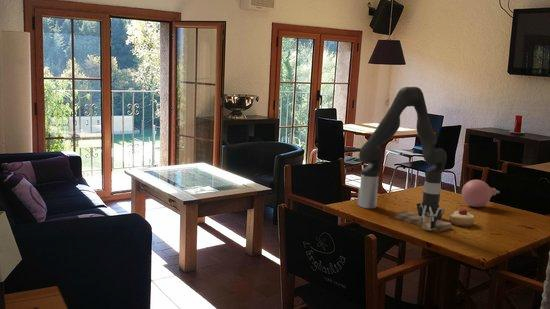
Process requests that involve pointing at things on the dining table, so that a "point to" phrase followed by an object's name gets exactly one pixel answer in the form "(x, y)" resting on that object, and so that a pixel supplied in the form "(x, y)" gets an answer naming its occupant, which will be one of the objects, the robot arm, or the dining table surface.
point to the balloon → (477, 193)
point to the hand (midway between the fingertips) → (428, 227)
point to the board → (417, 220)
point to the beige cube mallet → (427, 222)
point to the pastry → (461, 218)
